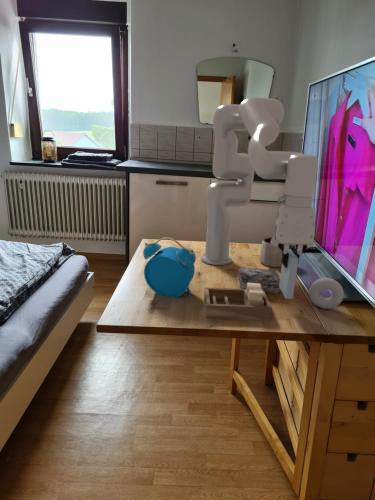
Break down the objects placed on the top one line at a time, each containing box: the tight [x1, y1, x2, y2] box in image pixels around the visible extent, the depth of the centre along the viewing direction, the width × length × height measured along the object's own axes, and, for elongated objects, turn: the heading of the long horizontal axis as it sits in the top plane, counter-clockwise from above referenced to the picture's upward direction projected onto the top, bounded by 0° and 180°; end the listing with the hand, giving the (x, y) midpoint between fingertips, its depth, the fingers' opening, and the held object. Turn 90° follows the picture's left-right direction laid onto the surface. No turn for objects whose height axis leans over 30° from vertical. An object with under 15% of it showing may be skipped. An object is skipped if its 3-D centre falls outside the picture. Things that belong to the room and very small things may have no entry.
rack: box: [203, 287, 273, 322], centre depth 112 cm, size 12×18×5 cm, turn 90°
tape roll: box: [308, 277, 345, 310], centre depth 116 cm, size 10×3×10 cm, turn 71°
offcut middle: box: [244, 290, 264, 306], centre depth 111 cm, size 8×4×2 cm, turn 3°
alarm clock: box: [142, 236, 197, 298], centre depth 119 cm, size 17×10×20 cm, turn 71°
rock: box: [237, 267, 282, 295], centre depth 126 cm, size 16×8×10 cm, turn 73°
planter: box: [259, 236, 290, 269], centre depth 153 cm, size 11×11×10 cm
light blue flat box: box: [279, 248, 299, 300], centre depth 108 cm, size 8×2×12 cm, turn 0°
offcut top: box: [247, 283, 263, 301], centre depth 110 cm, size 7×4×2 cm, turn 176°
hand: (289, 265), depth 108 cm, fingers closed on light blue flat box, 1 cm apart
